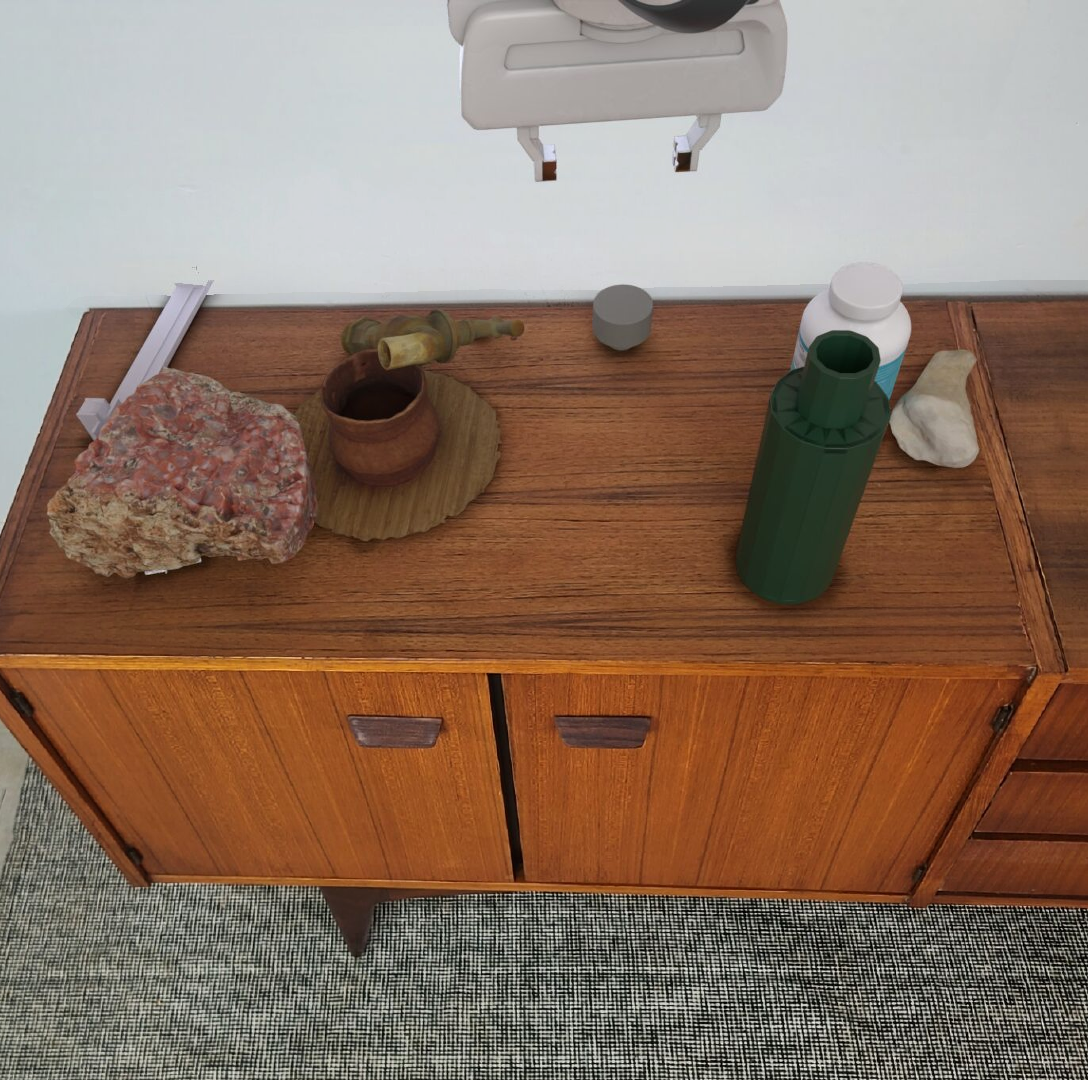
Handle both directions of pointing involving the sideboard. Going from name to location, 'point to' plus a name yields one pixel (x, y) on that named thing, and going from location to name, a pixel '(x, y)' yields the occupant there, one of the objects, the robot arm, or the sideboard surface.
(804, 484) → the bottle
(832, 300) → the pill bottle
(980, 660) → the sideboard surface
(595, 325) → the cylinder
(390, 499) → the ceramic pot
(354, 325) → the faucet
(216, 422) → the rock
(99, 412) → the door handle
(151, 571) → the card
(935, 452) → the beige lumpy piece
